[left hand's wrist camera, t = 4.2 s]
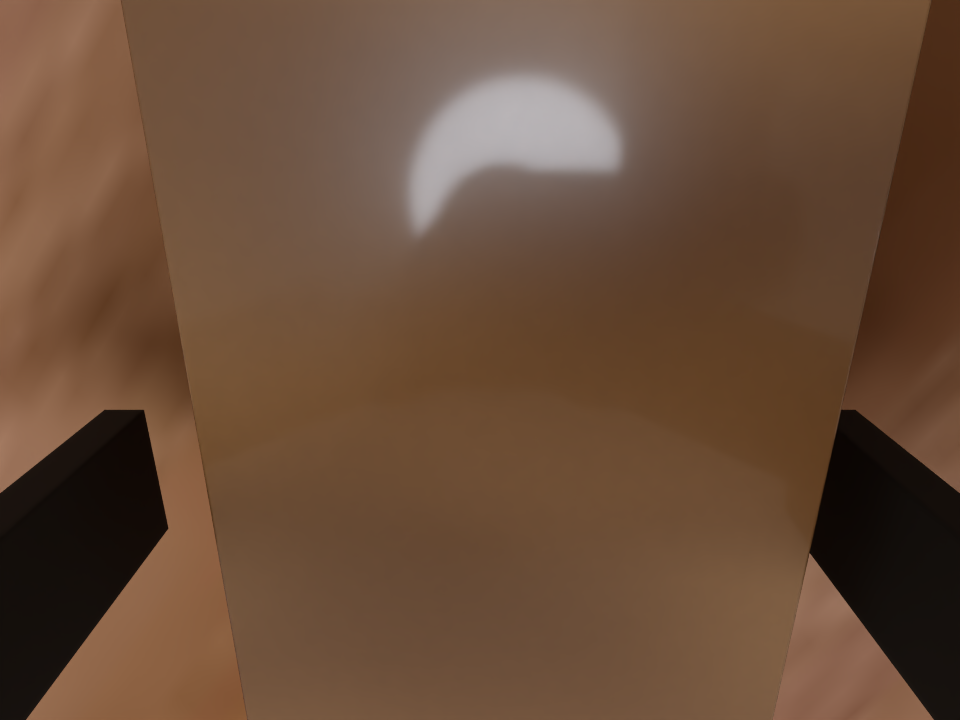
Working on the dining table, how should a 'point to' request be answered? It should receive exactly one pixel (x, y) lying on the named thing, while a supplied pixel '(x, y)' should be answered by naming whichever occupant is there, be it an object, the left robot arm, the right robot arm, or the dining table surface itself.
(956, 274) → the dining table surface
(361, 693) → the slab
